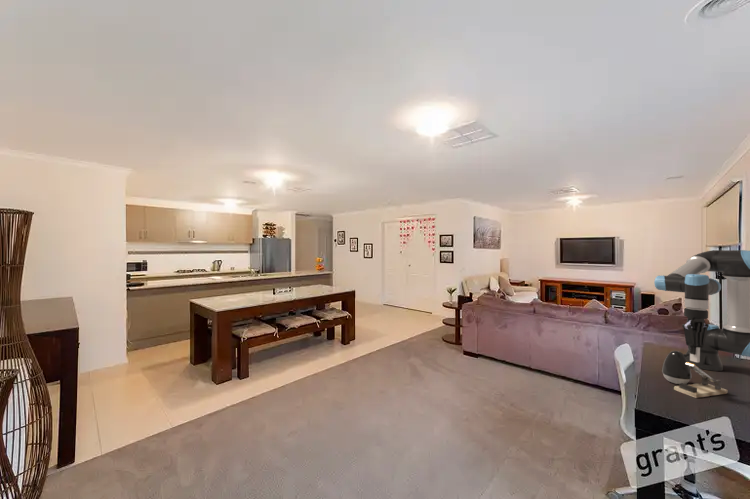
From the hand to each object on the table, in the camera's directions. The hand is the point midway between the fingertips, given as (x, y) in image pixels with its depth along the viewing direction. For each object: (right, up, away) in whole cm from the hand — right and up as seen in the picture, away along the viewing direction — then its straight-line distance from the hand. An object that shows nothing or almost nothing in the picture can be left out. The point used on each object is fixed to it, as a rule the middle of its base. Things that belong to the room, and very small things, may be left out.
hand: (694, 361), depth 140 cm
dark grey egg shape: (+2, -14, +11) cm, 18 cm away
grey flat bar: (+4, -6, +1) cm, 7 cm away
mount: (+4, -14, +1) cm, 15 cm away
